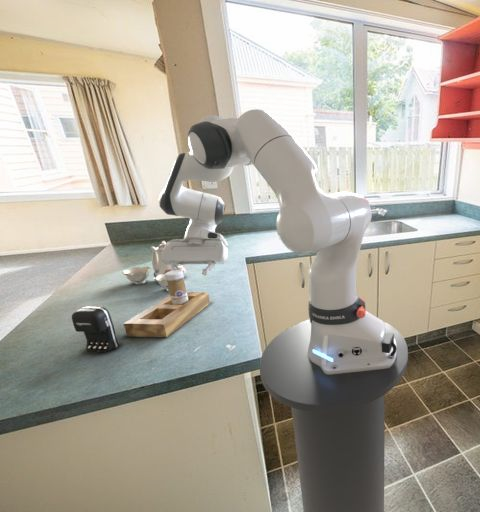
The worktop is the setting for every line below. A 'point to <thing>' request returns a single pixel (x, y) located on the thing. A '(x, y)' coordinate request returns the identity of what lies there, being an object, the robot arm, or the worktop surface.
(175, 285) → the sprinkles bottle
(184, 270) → the chinaware
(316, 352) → the robot arm
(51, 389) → the worktop surface
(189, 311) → the socket block
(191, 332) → the worktop surface
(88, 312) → the battery charger
